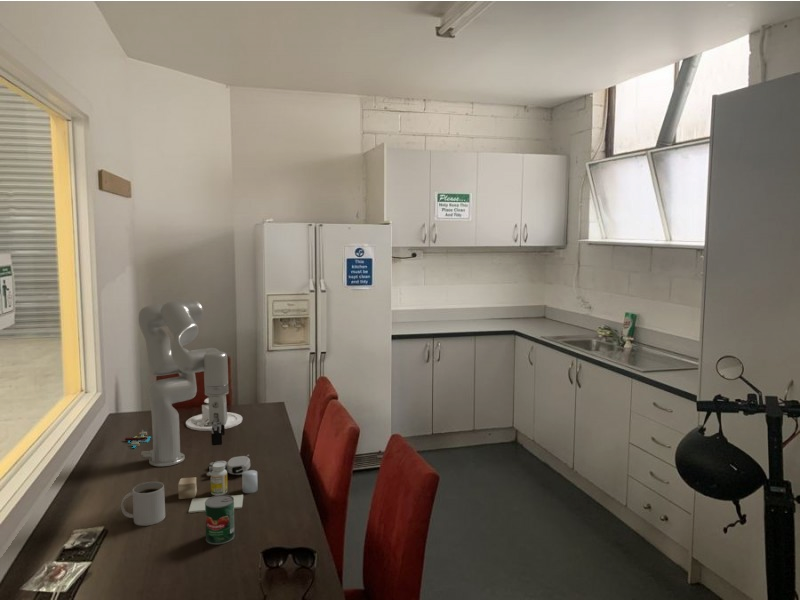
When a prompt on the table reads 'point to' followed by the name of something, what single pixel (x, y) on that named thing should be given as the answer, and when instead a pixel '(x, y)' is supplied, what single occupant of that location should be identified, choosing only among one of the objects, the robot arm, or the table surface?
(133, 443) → the gear mechanism
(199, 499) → the sage mat
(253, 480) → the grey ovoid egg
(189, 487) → the birch block
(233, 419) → the dish
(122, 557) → the table surface
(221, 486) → the supplement bottle
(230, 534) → the canned tomato
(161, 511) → the mug
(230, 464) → the robot toy
